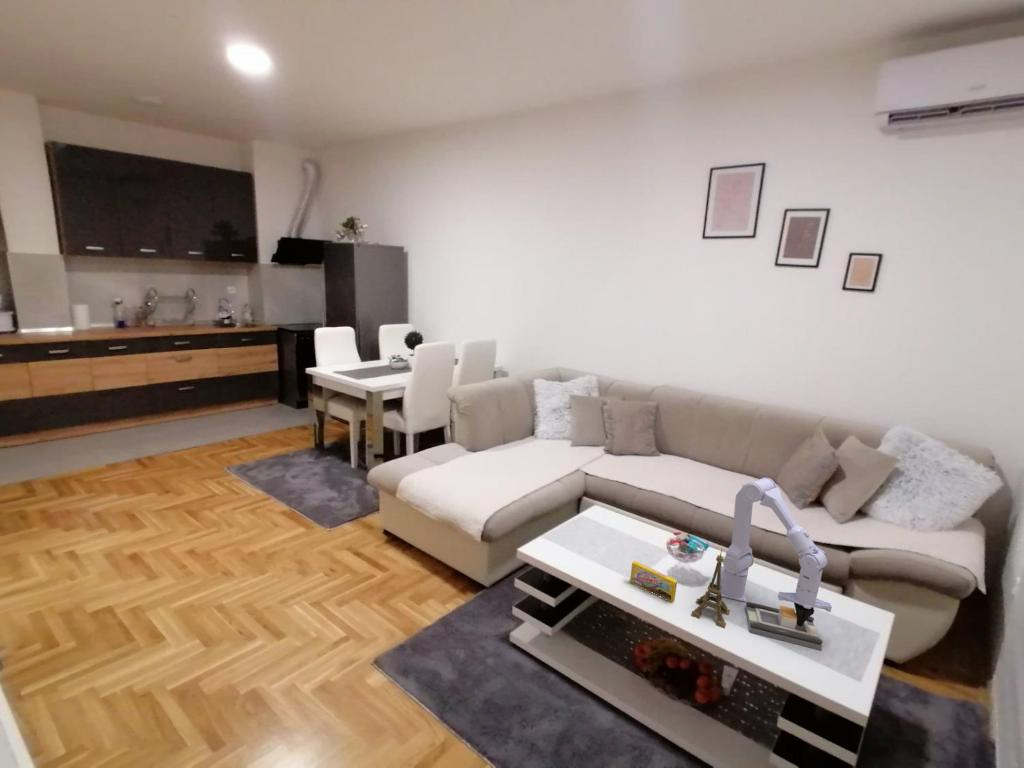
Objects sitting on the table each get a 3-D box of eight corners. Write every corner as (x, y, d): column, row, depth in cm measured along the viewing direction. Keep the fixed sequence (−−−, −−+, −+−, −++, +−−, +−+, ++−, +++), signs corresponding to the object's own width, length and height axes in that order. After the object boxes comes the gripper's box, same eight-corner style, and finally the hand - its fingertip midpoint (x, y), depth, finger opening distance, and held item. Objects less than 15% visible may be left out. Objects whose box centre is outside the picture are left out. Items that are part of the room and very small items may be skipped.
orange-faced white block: (780, 627, 162) (783, 614, 160) (777, 617, 166) (780, 605, 165) (794, 630, 160) (797, 618, 159) (791, 620, 165) (794, 608, 164)
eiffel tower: (729, 610, 171) (742, 543, 165) (724, 628, 162) (737, 558, 156) (697, 599, 176) (708, 533, 170) (690, 615, 167) (701, 547, 161)
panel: (749, 632, 161) (750, 624, 160) (744, 607, 173) (746, 599, 172) (821, 650, 155) (823, 642, 154) (811, 623, 167) (813, 615, 166)
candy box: (629, 582, 183) (631, 562, 181) (631, 580, 184) (634, 559, 182) (672, 603, 172) (675, 582, 171) (674, 601, 174) (678, 579, 172)
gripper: (784, 588, 157) (776, 626, 160) (837, 600, 153) (828, 638, 156) (780, 575, 164) (772, 612, 167) (831, 586, 160) (822, 624, 163)
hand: (799, 624), depth 162 cm, fingers closed
